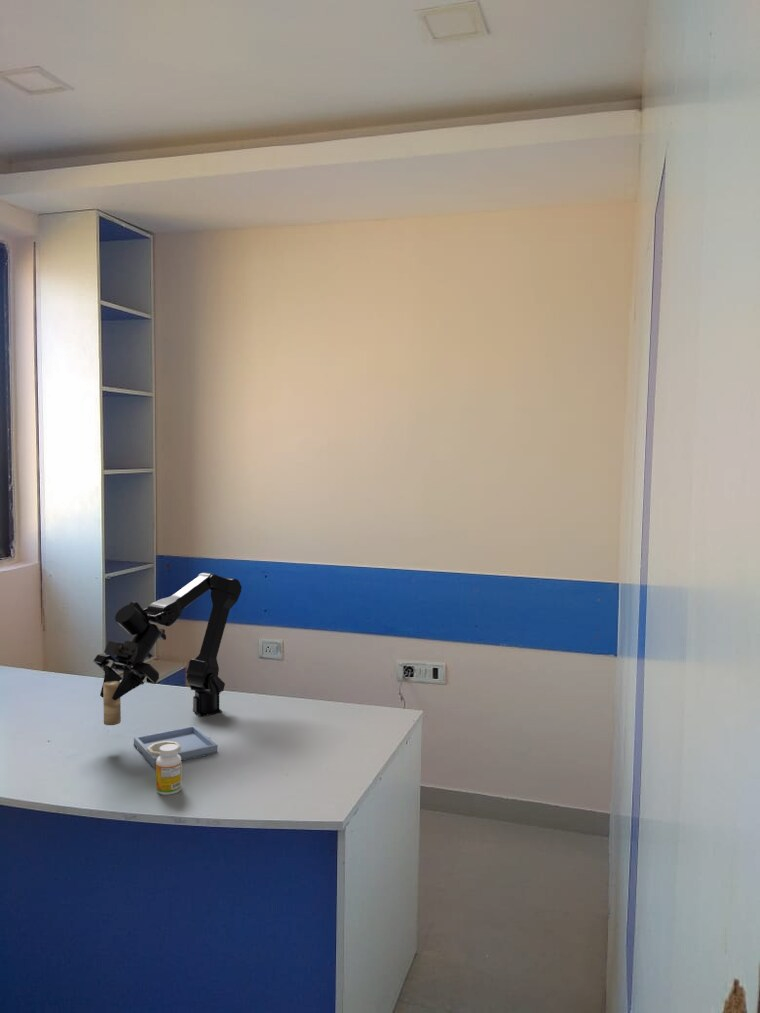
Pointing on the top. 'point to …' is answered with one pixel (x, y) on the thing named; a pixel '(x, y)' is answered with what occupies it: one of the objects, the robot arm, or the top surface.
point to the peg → (111, 704)
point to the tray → (176, 743)
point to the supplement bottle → (168, 770)
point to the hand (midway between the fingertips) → (107, 698)
